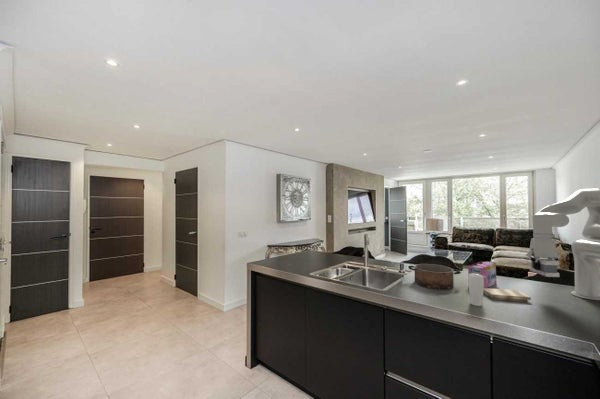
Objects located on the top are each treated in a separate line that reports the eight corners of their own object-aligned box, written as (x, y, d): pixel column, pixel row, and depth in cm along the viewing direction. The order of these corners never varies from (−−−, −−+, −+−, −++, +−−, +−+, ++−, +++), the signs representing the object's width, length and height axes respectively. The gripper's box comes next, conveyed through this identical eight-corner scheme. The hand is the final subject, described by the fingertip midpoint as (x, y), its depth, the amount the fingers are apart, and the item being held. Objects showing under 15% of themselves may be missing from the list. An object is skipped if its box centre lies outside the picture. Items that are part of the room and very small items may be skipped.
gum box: (483, 280, 173) (483, 260, 173) (497, 283, 167) (497, 262, 167) (467, 287, 160) (467, 265, 160) (482, 290, 153) (482, 268, 153)
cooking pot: (457, 282, 170) (456, 266, 170) (464, 293, 149) (464, 274, 149) (408, 277, 181) (408, 262, 181) (408, 286, 161) (408, 269, 161)
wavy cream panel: (518, 295, 145) (517, 290, 145) (530, 302, 134) (530, 297, 134) (482, 293, 149) (482, 287, 149) (491, 300, 138) (491, 294, 138)
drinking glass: (479, 308, 127) (479, 277, 128) (465, 303, 133) (465, 274, 134) (487, 305, 131) (486, 276, 131) (472, 301, 137) (472, 273, 137)
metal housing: (542, 270, 143) (541, 256, 143) (559, 277, 131) (559, 261, 131) (529, 270, 144) (529, 256, 144) (546, 276, 132) (545, 261, 132)
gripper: (556, 235, 140) (557, 268, 139) (519, 235, 143) (520, 267, 143) (567, 237, 132) (568, 272, 132) (528, 237, 136) (529, 271, 136)
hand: (543, 269), depth 138 cm, fingers closed on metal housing, 6 cm apart
